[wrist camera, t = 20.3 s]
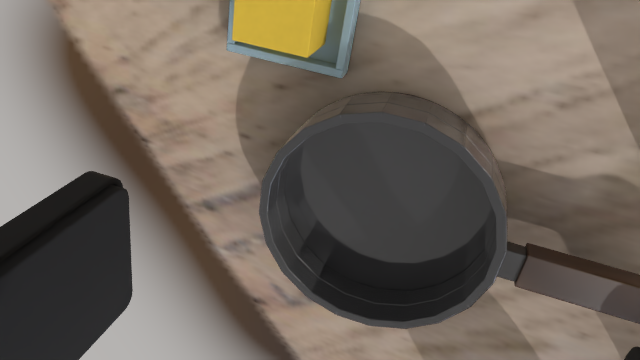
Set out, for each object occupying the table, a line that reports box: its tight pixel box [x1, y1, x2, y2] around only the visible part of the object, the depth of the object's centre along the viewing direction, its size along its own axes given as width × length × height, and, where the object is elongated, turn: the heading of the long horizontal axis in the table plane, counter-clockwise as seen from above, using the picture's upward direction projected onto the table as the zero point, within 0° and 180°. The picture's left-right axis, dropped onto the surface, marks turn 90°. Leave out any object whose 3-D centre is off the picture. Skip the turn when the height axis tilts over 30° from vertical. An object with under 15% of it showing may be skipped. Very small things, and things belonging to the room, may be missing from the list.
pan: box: [259, 92, 507, 329], centre depth 33 cm, size 15×15×4 cm
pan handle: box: [497, 242, 640, 324], centre depth 30 cm, size 2×10×1 cm, turn 82°
